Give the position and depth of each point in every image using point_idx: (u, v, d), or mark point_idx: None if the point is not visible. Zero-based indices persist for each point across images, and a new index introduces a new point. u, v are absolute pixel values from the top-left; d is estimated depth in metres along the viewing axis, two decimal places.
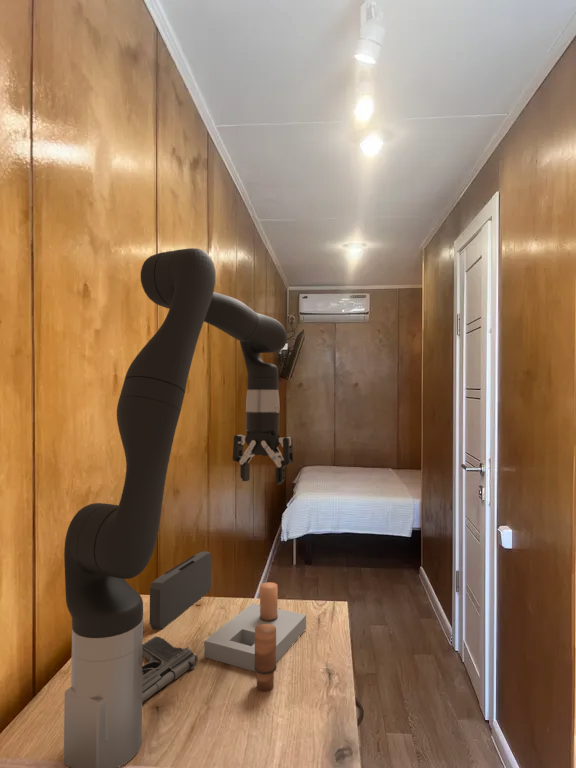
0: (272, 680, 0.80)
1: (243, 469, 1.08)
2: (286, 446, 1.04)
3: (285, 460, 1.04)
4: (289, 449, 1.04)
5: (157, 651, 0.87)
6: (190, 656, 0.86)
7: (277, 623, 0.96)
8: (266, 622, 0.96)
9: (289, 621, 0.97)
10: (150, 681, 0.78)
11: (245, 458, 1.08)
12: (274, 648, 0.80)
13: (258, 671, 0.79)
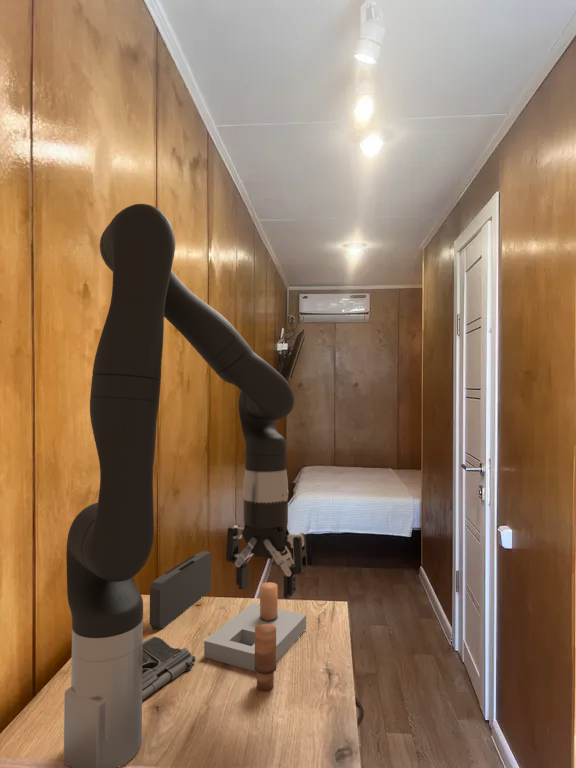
0: (272, 680, 0.80)
1: (240, 574, 0.82)
2: (298, 549, 0.77)
3: (296, 567, 0.77)
4: (302, 552, 0.77)
5: (155, 651, 0.87)
6: (187, 656, 0.86)
7: (277, 623, 0.96)
8: (266, 622, 0.96)
9: (289, 621, 0.97)
10: (146, 681, 0.78)
11: (242, 559, 0.81)
12: (274, 648, 0.80)
13: (258, 671, 0.79)
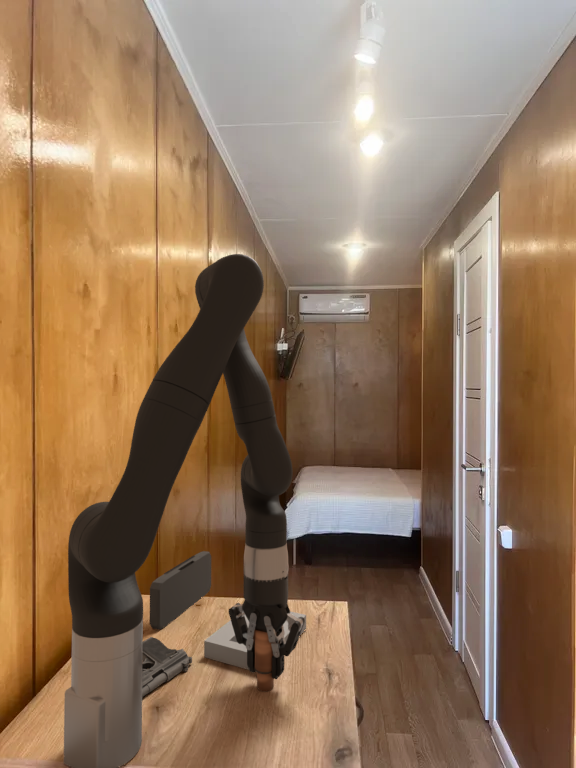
0: (272, 680, 0.80)
1: (251, 657, 0.80)
2: (293, 634, 0.77)
3: (284, 649, 0.78)
4: (296, 638, 0.77)
5: (151, 652, 0.87)
6: (183, 657, 0.86)
7: None
8: None
9: None
10: (142, 682, 0.78)
11: (251, 640, 0.80)
12: None
13: (258, 671, 0.79)
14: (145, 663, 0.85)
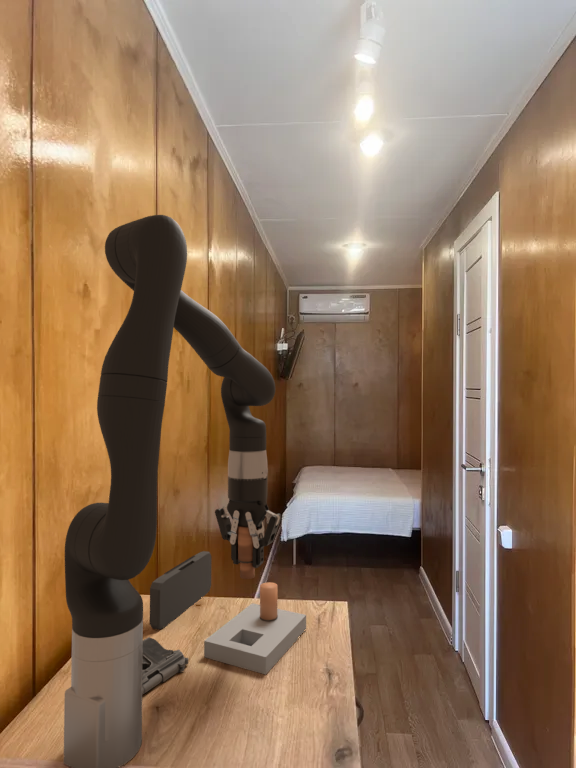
0: (253, 570, 0.90)
1: (234, 550, 0.91)
2: (271, 526, 0.87)
3: (263, 540, 0.88)
4: (273, 530, 0.88)
5: (148, 652, 0.87)
6: (180, 658, 0.85)
7: (277, 623, 0.96)
8: (266, 622, 0.96)
9: (289, 621, 0.97)
10: None
11: (235, 535, 0.91)
12: None
13: (241, 561, 0.89)
14: None
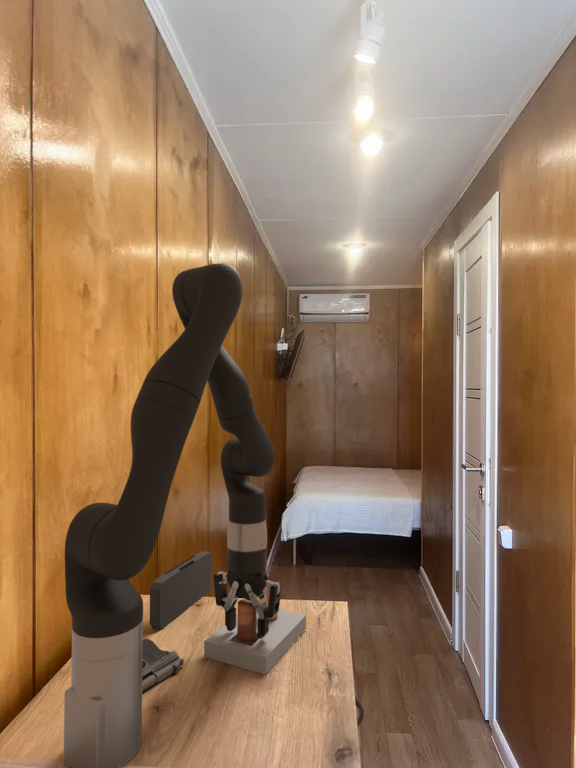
0: None
1: (228, 617, 0.91)
2: (273, 596, 0.87)
3: (268, 612, 0.87)
4: (276, 599, 0.87)
5: (143, 653, 0.87)
6: (175, 659, 0.85)
7: (277, 623, 0.96)
8: None
9: (289, 621, 0.97)
10: None
11: (230, 603, 0.91)
12: (254, 619, 0.90)
13: (240, 639, 0.89)
14: None
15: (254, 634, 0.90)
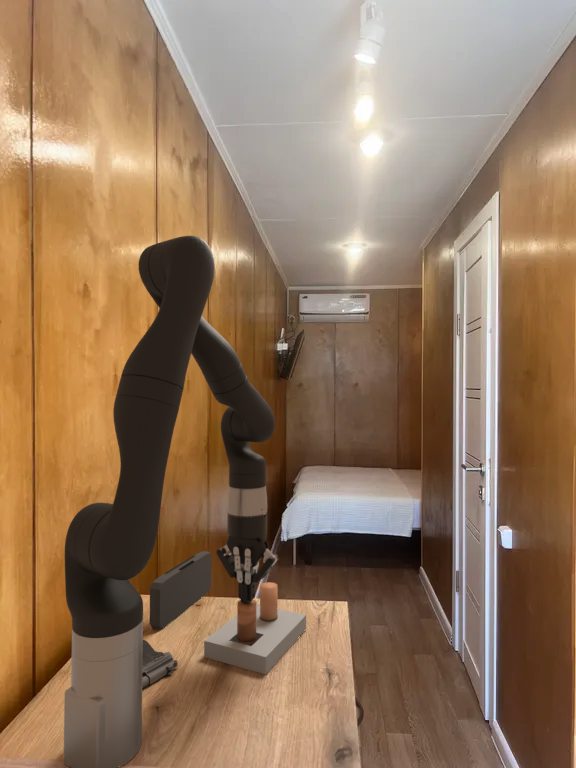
0: None
1: (242, 588, 0.90)
2: (266, 567, 0.88)
3: (254, 576, 0.89)
4: (267, 570, 0.88)
5: None
6: (168, 661, 0.85)
7: (277, 623, 0.96)
8: (266, 622, 0.96)
9: (289, 621, 0.97)
10: None
11: (240, 572, 0.90)
12: (254, 619, 0.90)
13: (240, 639, 0.89)
14: None
15: (254, 634, 0.90)
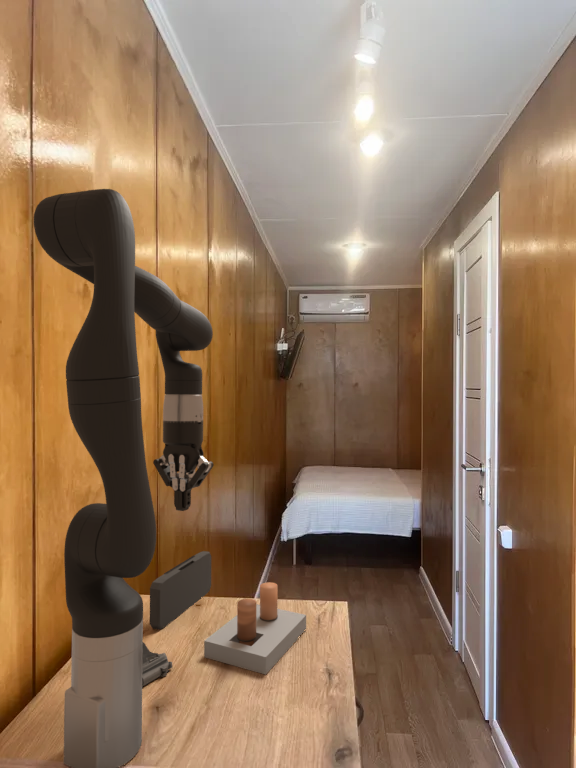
0: None
1: (177, 496, 0.90)
2: (200, 472, 0.88)
3: (189, 483, 0.89)
4: (201, 476, 0.88)
5: None
6: (163, 662, 0.84)
7: (277, 623, 0.96)
8: (266, 622, 0.96)
9: (289, 621, 0.97)
10: None
11: (175, 480, 0.90)
12: (254, 619, 0.90)
13: (240, 639, 0.89)
14: None
15: (254, 634, 0.90)
